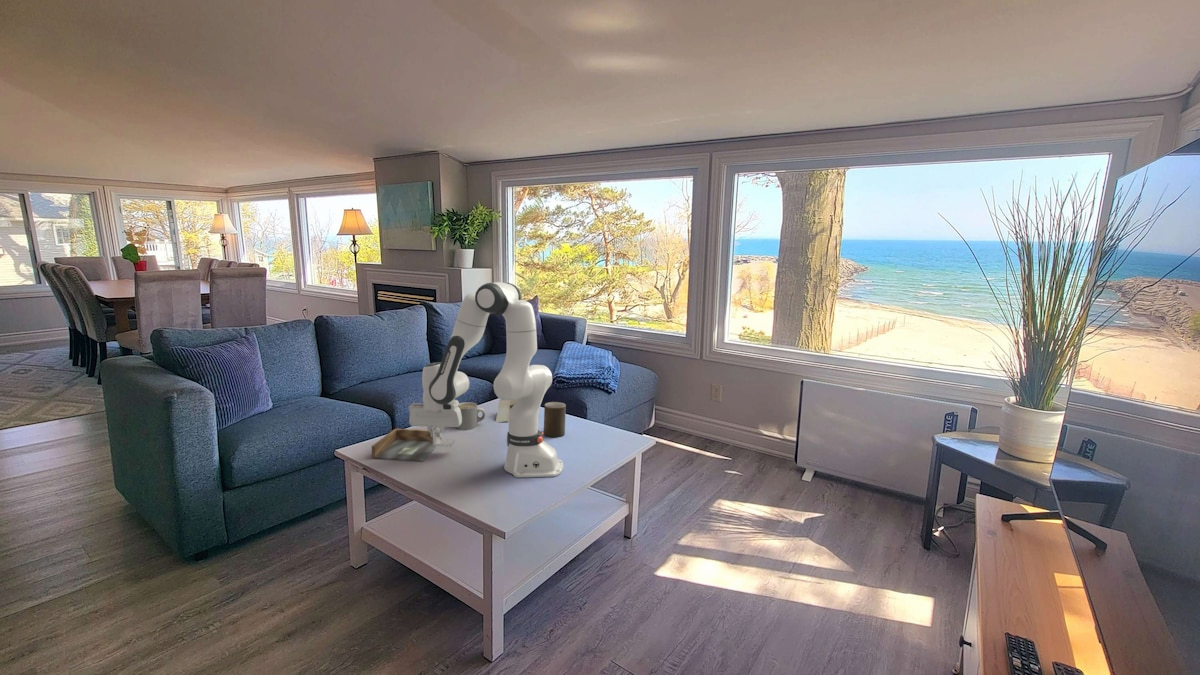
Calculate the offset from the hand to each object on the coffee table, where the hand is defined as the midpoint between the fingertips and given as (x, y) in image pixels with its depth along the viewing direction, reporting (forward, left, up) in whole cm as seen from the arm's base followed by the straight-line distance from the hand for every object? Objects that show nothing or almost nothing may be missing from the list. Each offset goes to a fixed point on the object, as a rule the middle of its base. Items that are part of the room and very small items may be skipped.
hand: (436, 436), depth 199 cm
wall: (-21, -48, -8) cm, 52 cm away
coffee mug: (-3, -34, -8) cm, 35 cm away
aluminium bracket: (-3, 0, -3) cm, 4 cm away
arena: (+13, -3, -7) cm, 15 cm away
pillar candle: (-43, -30, -8) cm, 53 cm away
